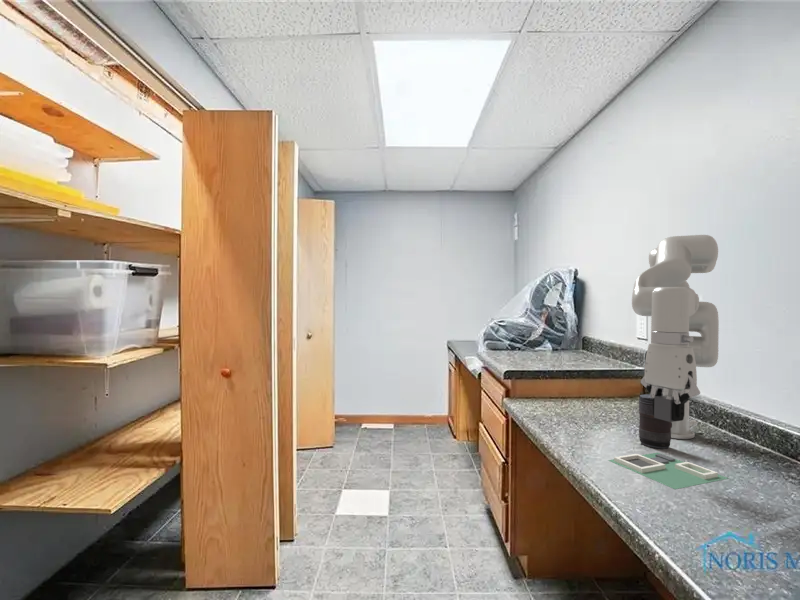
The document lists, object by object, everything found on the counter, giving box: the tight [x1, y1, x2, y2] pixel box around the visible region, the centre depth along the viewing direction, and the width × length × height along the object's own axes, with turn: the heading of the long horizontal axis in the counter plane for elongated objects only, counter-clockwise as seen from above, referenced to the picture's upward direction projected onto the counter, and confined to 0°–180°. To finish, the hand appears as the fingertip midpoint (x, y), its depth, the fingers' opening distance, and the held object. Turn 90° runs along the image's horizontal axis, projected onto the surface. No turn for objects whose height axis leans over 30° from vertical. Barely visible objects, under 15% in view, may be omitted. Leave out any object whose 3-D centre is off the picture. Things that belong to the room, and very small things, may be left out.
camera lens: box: [638, 393, 672, 450], centre depth 124 cm, size 8×8×15 cm
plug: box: [654, 395, 682, 422], centre depth 102 cm, size 4×4×6 cm
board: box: [607, 452, 730, 490], centre depth 106 cm, size 18×18×2 cm
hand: (667, 416), depth 102 cm, fingers closed on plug, 4 cm apart
